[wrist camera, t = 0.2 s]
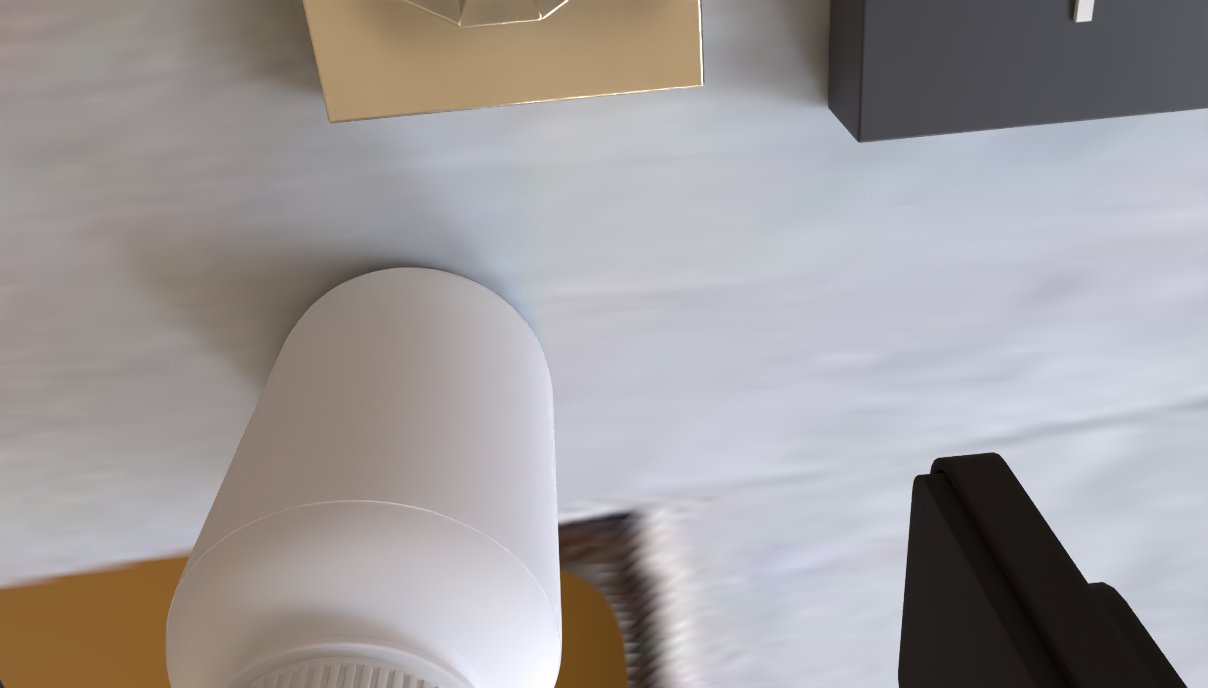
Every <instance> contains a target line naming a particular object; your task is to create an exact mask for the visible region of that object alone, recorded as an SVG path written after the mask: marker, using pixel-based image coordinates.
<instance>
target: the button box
mask: <svg viewBox="0 0 1208 688" xmlns="http://www.w3.org/2000/svg"><path fill="white" fill-rule="evenodd" d="M302 3H303V7H304V12H305V16H306V21H307V25H308V30H309V34H310V39H311V43H312V48H313V52H314V57H315V61H316V66H317V70H318V75H319V79H320V84H321V88H322V93H323V97H324V102H325V106H326V111H327V115H328V120H329V121H330V122H331V123H339V122H349V121H359V120H369V119H379V118H389V117H399V116H409V115H420V114H430V113H440V112H450V111H460V110H470V109H480V108H490V107H500V106H510V105H520V104H531V103H541V102H551V101H561V100H571V99H581V98H591V97H601V96H611V95H621V94H632V93H642V92H652V91H662V90H672V89H682V88H692V87H701V86H703V85H704V57H703V30H702V4H701V0H302Z"/></svg>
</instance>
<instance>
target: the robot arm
mask: <svg viewBox="0 0 1208 688" xmlns="http://www.w3.org/2000/svg"><path fill="white" fill-rule="evenodd" d="M898 682H899V688H1187V686H1186V685H1185V684H1184V682H1183V681H1182V679H1181V678H1180V677H1179V675H1178V674H1177V672H1176V671H1175V670H1174V668H1173V667H1172V665H1171V664H1170V663H1169V661H1168V660H1167V658H1166V657H1165V656H1164V654H1163V653H1162V651H1161V650H1160V648H1159V647H1158V646H1157V644H1156V643H1155V641H1154V640H1153V639H1152V637H1151V636H1150V634H1149V633H1148V632H1147V630H1146V629H1145V627H1144V626H1143V625H1142V623H1141V622H1140V620H1139V619H1138V618H1137V616H1136V615H1135V613H1134V612H1133V611H1132V609H1131V608H1130V606H1129V605H1128V603H1127V602H1126V601H1125V600H1124V598H1123V597H1122V596H1121V595H1120V594H1119V593H1118V592H1117V591H1116V590H1115V588H1113V587H1111V586H1109V585H1108V584H1106V583H1104V582H1099V583H1089V584H1088V583H1087V581H1086V580H1085V578H1084V577H1083V575H1082V574H1081V572H1080V571H1079V569H1078V568H1077V566H1076V565H1075V563H1074V562H1073V561H1072V559H1071V558H1070V556H1069V555H1068V553H1067V552H1066V550H1065V549H1064V547H1063V546H1062V544H1061V543H1060V541H1059V540H1058V538H1057V537H1056V536H1055V534H1054V533H1053V531H1052V530H1051V528H1050V527H1049V525H1048V524H1047V522H1046V521H1045V519H1044V518H1043V516H1042V515H1041V513H1040V512H1039V511H1038V509H1037V508H1036V506H1035V505H1034V503H1033V502H1032V500H1031V499H1030V497H1029V496H1028V494H1027V493H1026V491H1025V490H1024V488H1023V487H1022V485H1021V484H1020V483H1019V481H1018V480H1017V478H1016V477H1015V475H1014V474H1013V472H1012V471H1011V469H1010V468H1009V466H1008V465H1007V463H1006V462H1005V461H1004V459H1003V458H1002V457H1001V456H1000V455H999V454H996V453H994V452H993V453H983V454H972V455H962V456H952V457H942V458H937V459H936V460H934V462H933V464H932V466H931V472H930V474H925V475H918V476H916V477H915V479H914V482H913V489H912V502H911V514H910V527H909V540H908V553H907V565H906V578H905V591H904V603H903V616H902V629H901V642H900V654H899V667H898ZM0 688H4V686H3V684H2V682H1V680H0Z"/></svg>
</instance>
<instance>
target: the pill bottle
mask: <svg viewBox="0 0 1208 688" xmlns="http://www.w3.org/2000/svg"><path fill="white" fill-rule="evenodd" d="M560 598H561V597H560V572H559V546H558V520H557V494H556V468H555V442H554V416H553V392H552V383H551V378H550V374H549V370H548V366H547V362H546V359H545V356H544V353H543V350H542V348H541V346H540V344H539V342H538V340H537V338H536V336H535V334H534V333H533V331H532V330H531V328H530V327H529V325H528V324H527V323H526V321H525V320H524V319H523V318H522V316H521V315H520V314H519V313H518V312H517V311H516V310H515V309H514V308H513V307H512V306H511V305H510V304H509V303H507V302H506V301H505V300H504V299H502V298H501V297H500V296H498V295H497V294H496V293H494V292H492V291H491V290H489V289H488V288H486V287H484V286H482V285H480V284H478V283H476V282H474V281H472V280H470V279H467V278H465V277H462V276H459V275H456V274H453V273H449V272H445V271H440V270H435V269H427V268H412V267H407V268H392V269H385V270H379V271H375V272H371V273H367V274H364V275H361V276H358V277H355V278H353V279H351V280H348V281H346V282H344V283H342V284H340V285H339V286H337V287H335V288H333V289H332V290H330V291H329V292H327V293H326V294H325V295H323V296H322V297H321V298H319V299H318V300H317V301H316V302H315V303H314V304H313V305H312V306H311V307H310V308H309V309H308V310H307V311H306V312H305V313H304V314H303V316H302V317H301V318H300V319H299V321H298V322H297V324H296V325H295V326H294V328H293V329H292V331H291V332H290V334H289V335H288V337H287V339H286V340H285V342H284V344H283V346H282V349H281V351H280V353H279V355H278V358H277V360H276V362H275V364H274V367H273V369H272V371H271V374H270V376H269V378H268V380H267V383H266V385H265V387H264V389H263V392H262V394H261V396H260V399H259V401H258V403H257V405H256V408H255V410H254V412H253V414H252V417H251V419H250V421H249V424H248V426H247V428H246V430H245V433H244V435H243V437H242V439H241V442H240V444H239V446H238V448H237V451H236V453H235V455H234V458H233V460H232V462H231V464H230V467H229V469H228V471H227V473H226V476H225V478H224V480H223V483H222V485H221V487H220V489H219V492H218V494H217V496H216V498H215V501H214V503H213V505H212V508H211V510H210V512H209V514H208V517H207V519H206V521H205V523H204V526H203V528H202V530H201V533H200V535H199V537H198V539H197V542H196V544H195V546H194V548H193V551H192V553H191V555H190V557H189V560H188V562H187V565H186V567H185V569H184V571H183V573H182V576H181V578H180V581H179V583H178V586H177V588H176V591H175V594H174V597H173V600H172V603H171V606H170V610H169V614H168V618H167V626H166V661H167V671H168V676H169V681H170V684H171V688H554V686H555V683H556V680H557V677H558V672H559V668H560V661H561V648H562V624H561V599H560Z"/></svg>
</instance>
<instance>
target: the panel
mask: <svg viewBox="0 0 1208 688" xmlns="http://www.w3.org/2000/svg"><path fill="white" fill-rule="evenodd" d="M828 107H829V109H830V110H831V111H832V113H833V114H834V115H835V116H836V117H837V118H838V119H839V121H840V122H841V123H842V124H843V125H844V126H845V127H846V129H847V130H848V131H849V132H850V133H851V134H852V136H853V137H854V138H855V139H856V140H857V141H858V142H860V143H862V142H872V141H882V140H892V139H902V138H912V137H923V136H933V135H943V134H953V133H963V132H973V131H983V130H993V129H1003V128H1013V127H1023V126H1033V125H1043V124H1053V123H1063V122H1074V121H1084V120H1094V119H1104V118H1114V117H1124V116H1134V115H1144V114H1154V113H1164V112H1174V111H1184V110H1194V109H1204V108H1208V0H831V3H830V48H829V94H828Z"/></svg>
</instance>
